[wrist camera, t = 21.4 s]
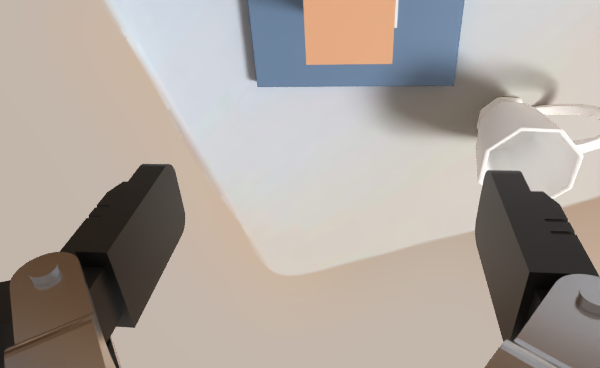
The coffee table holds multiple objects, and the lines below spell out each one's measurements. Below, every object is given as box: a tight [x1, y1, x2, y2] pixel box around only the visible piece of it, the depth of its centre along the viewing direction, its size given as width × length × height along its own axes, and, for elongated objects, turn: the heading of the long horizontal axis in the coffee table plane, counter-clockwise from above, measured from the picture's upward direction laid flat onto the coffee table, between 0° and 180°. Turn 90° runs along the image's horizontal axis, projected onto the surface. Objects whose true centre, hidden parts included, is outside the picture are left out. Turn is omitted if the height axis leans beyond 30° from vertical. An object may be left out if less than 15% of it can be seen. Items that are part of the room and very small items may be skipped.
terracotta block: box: [303, 0, 396, 65], centre depth 29 cm, size 5×5×5 cm
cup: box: [476, 97, 600, 199], centre depth 37 cm, size 7×10×8 cm
